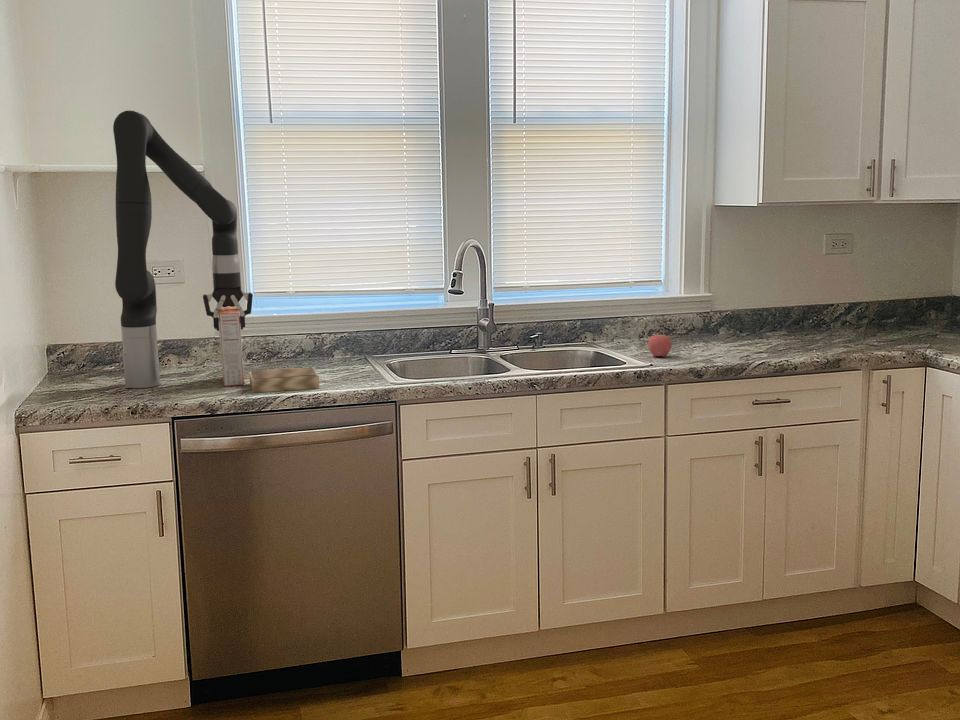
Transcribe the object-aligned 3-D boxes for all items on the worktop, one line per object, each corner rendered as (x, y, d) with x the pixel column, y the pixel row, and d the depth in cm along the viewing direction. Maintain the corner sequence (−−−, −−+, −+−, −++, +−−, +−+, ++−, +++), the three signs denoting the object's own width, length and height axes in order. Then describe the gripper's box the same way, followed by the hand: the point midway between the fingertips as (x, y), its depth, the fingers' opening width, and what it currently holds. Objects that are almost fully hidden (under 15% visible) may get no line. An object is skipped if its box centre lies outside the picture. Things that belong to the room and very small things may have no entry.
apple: (647, 358, 296) (647, 333, 295) (648, 354, 303) (649, 330, 302) (670, 359, 294) (671, 334, 293) (671, 355, 301) (672, 331, 300)
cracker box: (221, 377, 272) (217, 307, 268) (242, 376, 273) (239, 306, 270) (222, 387, 258) (218, 312, 255) (244, 385, 260) (240, 312, 256)
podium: (252, 392, 251) (252, 379, 250) (250, 383, 263) (249, 370, 262) (319, 388, 256) (318, 374, 255) (313, 379, 268) (313, 366, 267)
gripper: (199, 272, 255) (203, 333, 258) (253, 271, 259) (256, 330, 262) (199, 270, 262) (203, 329, 265) (251, 269, 266) (254, 326, 269)
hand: (229, 329), depth 263 cm, fingers closed on cracker box, 6 cm apart
